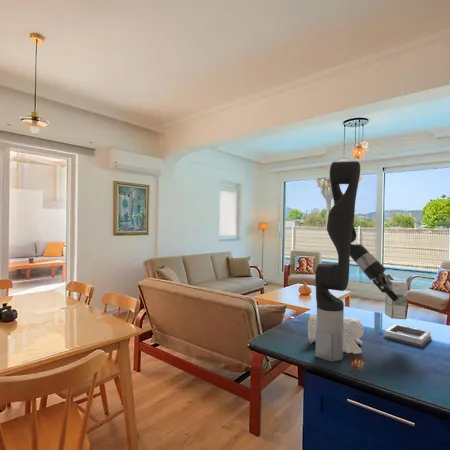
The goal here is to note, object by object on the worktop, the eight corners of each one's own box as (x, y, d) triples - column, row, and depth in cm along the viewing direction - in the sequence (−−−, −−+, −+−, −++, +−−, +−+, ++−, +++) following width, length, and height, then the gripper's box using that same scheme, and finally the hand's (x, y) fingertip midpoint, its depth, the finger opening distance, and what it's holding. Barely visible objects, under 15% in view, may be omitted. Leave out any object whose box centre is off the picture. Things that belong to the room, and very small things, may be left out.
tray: (421, 347, 118) (421, 340, 118) (383, 337, 128) (383, 330, 128) (431, 338, 127) (431, 331, 127) (394, 330, 138) (395, 323, 138)
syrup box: (399, 315, 122) (400, 279, 123) (407, 319, 117) (407, 282, 117) (384, 314, 123) (385, 279, 123) (391, 318, 117) (392, 281, 117)
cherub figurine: (314, 310, 131) (364, 312, 121) (316, 340, 130) (367, 344, 120) (306, 317, 119) (361, 320, 110) (308, 349, 118) (364, 355, 109)
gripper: (370, 261, 121) (401, 295, 112) (383, 259, 131) (413, 290, 122) (356, 272, 124) (386, 306, 116) (370, 270, 134) (398, 301, 126)
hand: (399, 298), depth 119 cm, fingers closed on syrup box, 8 cm apart
